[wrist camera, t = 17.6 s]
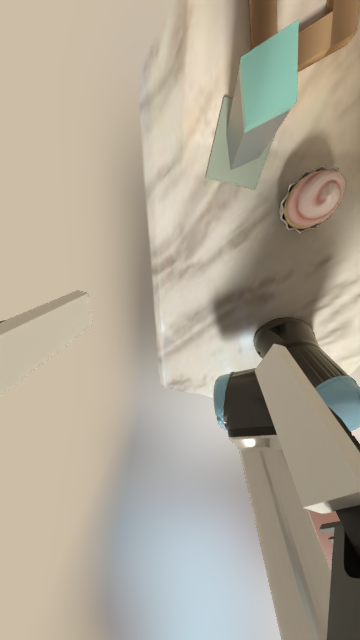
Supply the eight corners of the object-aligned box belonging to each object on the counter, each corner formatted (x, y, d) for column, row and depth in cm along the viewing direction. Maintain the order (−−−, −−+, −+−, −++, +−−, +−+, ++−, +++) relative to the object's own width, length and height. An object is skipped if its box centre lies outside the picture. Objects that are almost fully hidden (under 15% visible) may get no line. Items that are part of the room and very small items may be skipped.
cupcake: (277, 177, 28) (308, 151, 20) (333, 173, 27) (393, 143, 18) (264, 234, 33) (285, 233, 24) (311, 233, 31) (351, 231, 23)
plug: (256, 118, 25) (298, 18, 13) (259, 157, 27) (296, 100, 16) (226, 134, 26) (240, 57, 15) (230, 170, 28) (246, 127, 17)
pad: (282, 111, 24) (283, 109, 24) (254, 189, 29) (254, 189, 29) (223, 98, 25) (224, 96, 24) (205, 177, 30) (205, 177, 29)
